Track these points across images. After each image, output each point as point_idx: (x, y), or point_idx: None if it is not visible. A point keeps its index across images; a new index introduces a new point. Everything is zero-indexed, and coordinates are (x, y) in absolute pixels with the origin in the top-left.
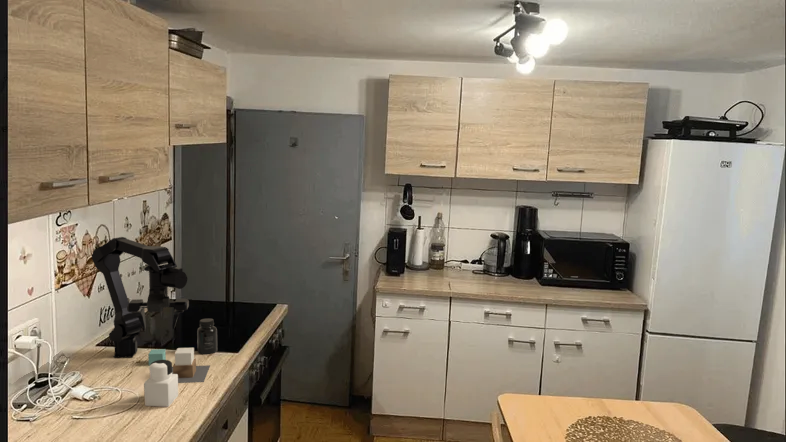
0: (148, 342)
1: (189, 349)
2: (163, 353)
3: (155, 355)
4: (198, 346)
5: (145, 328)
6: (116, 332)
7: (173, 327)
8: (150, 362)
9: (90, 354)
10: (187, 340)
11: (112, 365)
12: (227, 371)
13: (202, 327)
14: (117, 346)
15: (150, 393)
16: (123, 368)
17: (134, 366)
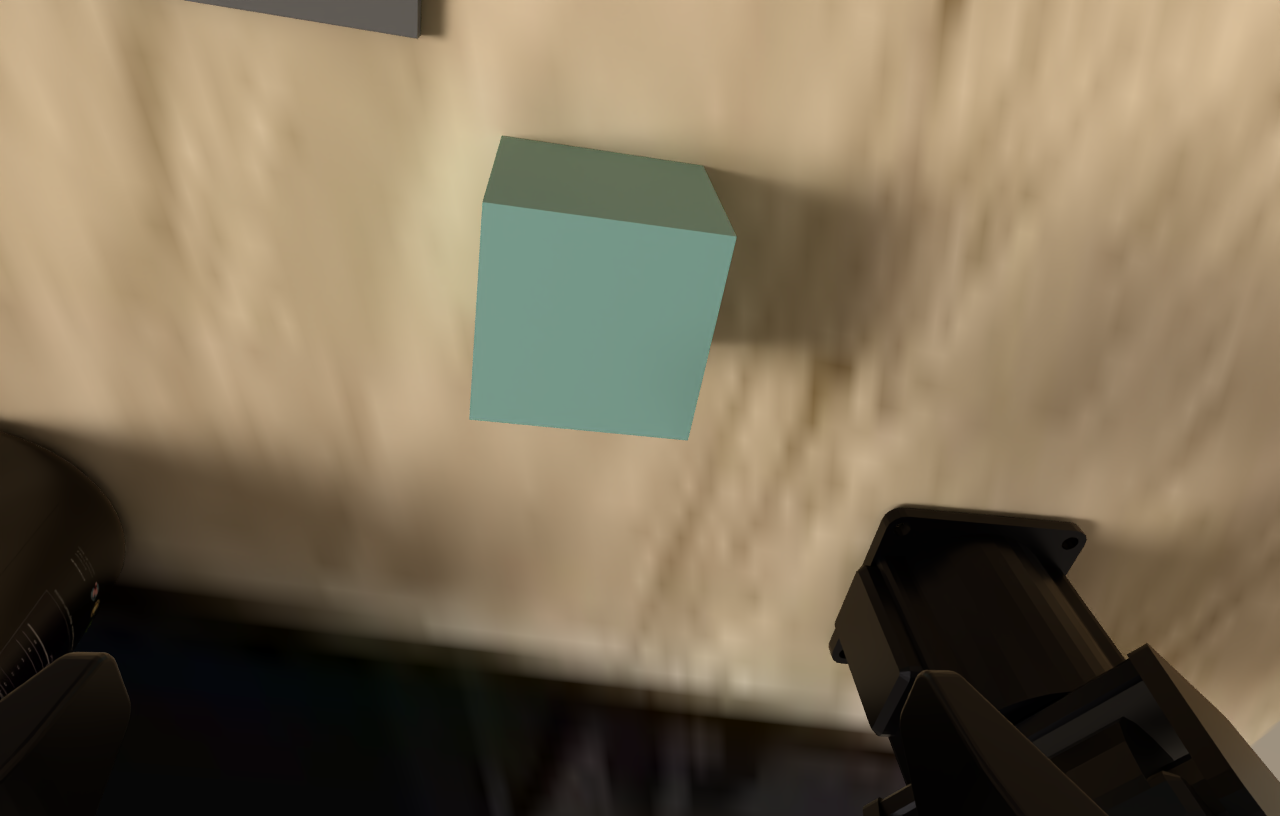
0: (722, 802)
1: None
2: (480, 271)
3: (611, 209)
4: (35, 546)
5: (914, 736)
6: (1272, 795)
7: (37, 696)
8: (685, 180)
9: (1242, 637)
10: (365, 807)
11: (1133, 320)
12: None
13: None
14: (1094, 639)
15: None
16: (1032, 182)
17: (889, 224)
